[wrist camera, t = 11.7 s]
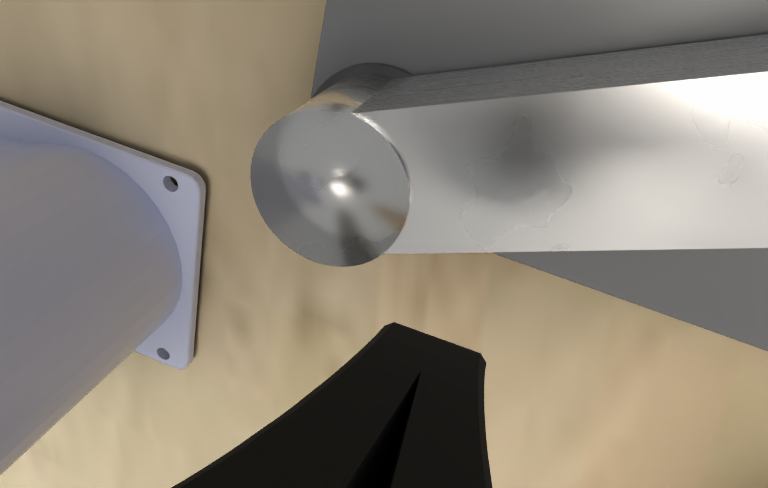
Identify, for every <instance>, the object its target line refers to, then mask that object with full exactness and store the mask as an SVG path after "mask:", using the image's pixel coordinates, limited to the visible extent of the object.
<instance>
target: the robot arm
mask: <svg viewBox="0 0 768 488" xmlns="http://www.w3.org/2000/svg"><path fill="white" fill-rule="evenodd" d="M171 176H172V177H173V178H175V180H176V181H177V183H178V187H177V186H176V185H174V184H173V182H172V181H171ZM205 196H206V186H205V183H204V181H203V179H202V177H201V176H200V175H199V174H198V173H196V172H194V171H192V170H190V169H187V168H184V167H181V166H179V165H176V164H173V163H170V162H168V161H165V160H162V159H159V158H157V157H154V156H151V155H148V154H146V153H143V152H140V151H137V150H135V149H132V148H129V147H126V146H124V145H121V144H118V143H115V142H113V141H110V140H107V139H104V138H102V137H99V136H96V135H93V134H91V133H88V132H85V131H82V130H80V129H77V128H74V127H71V126H69V125H66V124H63V123H60V122H58V121H55V120H52V119H49V118H47V117H44V116H41V115H38V114H36V113H33V112H30V111H27V110H25V109H22V108H19V107H16V106H14V105H11V104H8V103H5V102H3V101H0V475H1V474H2V473H3V472H4V471H6V470H7V469H8V468H9V467H10V466H11V465H12V464H13V463H14V462H15V461H16V460H17V459H18V458H19V457H20V456H22V455H23V454H24V453H25V452H26V451H27V450H28V449H29V448H30V447H31V446H32V445H33V444H34V443H35V442H37V441H38V440H39V439H40V438H41V437H42V436H43V435H44V434H45V433H46V432H47V431H48V430H49V429H50V428H52V427H53V426H54V425H55V424H56V423H57V422H58V421H59V420H60V419H61V418H62V417H63V416H64V415H65V414H67V413H68V412H69V411H70V410H71V409H72V408H73V407H74V406H75V405H76V404H77V403H78V402H79V401H80V400H82V399H83V398H84V397H85V396H86V395H87V394H88V393H89V392H90V391H91V390H92V389H93V388H94V387H95V386H97V385H98V384H99V383H100V382H101V381H102V380H103V379H104V378H105V377H106V376H107V375H108V374H109V373H110V372H111V371H113V370H114V369H115V368H116V367H117V366H118V365H119V364H120V363H121V362H122V361H123V360H124V359H125V358H126V357H128V356H129V355H130V354H131V353H132V352H133V351H136V352H138V353H141V354H143V355H145V356H148V357H150V358H152V359H155V360H157V361H160V362H162V363H164V364H167V365H169V366H171V367H174V368H177V369H185V368H186V367H187V366H188V365H189V364H190V363H191V362H192V360H193V353H194V340H195V327H196V314H197V301H198V288H199V275H200V261H201V248H202V235H203V222H204V209H205ZM166 350H167V351H166ZM485 367H486V362H485V360H484V358H483V357H482V355H481V353H478V352H475V351H473V350H470V349H467V348H464V347H461V346H459V345H456V344H453V343H450V342H447V341H445V340H442V339H439V338H436V337H434V336H431V335H428V334H425V333H422V332H420V331H417V330H414V329H411V328H409V327H406V326H403V325H400V324H397V323H395V322H394V323H391V324H388V325H386V326H384V327H383V328H382V329H381V330H380V331H379V333H378V334H377V335H376V336H375V337H374V338H373V339H372V340H371V341H370V342H369V343H368V344H367V345H366V346H365V347H364V348H362V349H361V350H360V351H359V352H358V353H357V354H356V355H355V356H354V357H353V358H352V359H350V360H349V361H348V362H347V363H346V364H345V365H344V366H342V367H341V368H340V369H339V370H338V371H337V372H335V373H334V374H333V375H332V376H331V377H330V378H328V379H327V380H326V381H325V382H323V383H322V384H321V385H320V386H318V387H317V388H316V389H314V390H313V391H312V392H311V393H309V394H308V395H307V396H306V397H304V398H303V399H302V400H301V401H299V402H298V403H297V404H296V405H294V406H293V407H292V408H290V409H289V410H288V411H286V412H285V413H284V414H282V415H281V416H280V417H278V418H277V419H275V420H274V421H273V422H271V423H270V424H268V425H267V426H265V427H264V428H263V429H261V430H260V431H258V432H257V433H255V434H254V435H253V436H251V437H250V438H248V439H247V440H245V441H244V442H243V443H241V444H240V445H238V446H237V447H235V448H234V449H233V450H231V451H230V452H228V453H227V454H225V455H223V456H222V457H220V458H219V459H217V460H216V461H214V462H213V463H211V464H209V465H208V466H206V467H205V468H203V469H202V470H200V471H198V472H197V473H195V474H193V475H192V476H190V477H189V478H187V479H185V480H184V481H182V482H180V483H179V484H177V485H175V486H173V487H172V488H492V482H491V475H490V468H489V460H488V452H487V442H486V430H485V414H484V377H485Z"/></svg>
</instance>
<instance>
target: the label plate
mask: <svg viewBox="0 0 768 488" xmlns="http://www.w3.org/2000/svg"><path fill="white" fill-rule="evenodd" d="M764 34H768V0H327V1H326V8H325V14H324V20H323V26H322V32H321V39H320V45H319V51H318V57H317V63H316V70H315V76H314V82H313V88H312V94H311V99H312V98H314V97H315V96H317V95H318V94H320V93H321V92H323V91H324V90H326V89H327V88H329V87H330V86H332V85H333V84H335V83H337V82H338V81H340V80H342V79H344V78H347V77H350V76H353V75H358V74H379V75H384V76H388V77H391V78H393V79H394V78H402V77H410V76H419V75H427V74H436V73H444V72H452V71H461V70H469V69H478V68H486V67H495V66H503V65H511V64H520V63H528V62H537V61H545V60H553V59H562V58H570V57H579V56H587V55H596V54H604V53H612V52H621V51H629V50H638V49H646V48H654V47H663V46H671V45H680V44H688V43H696V42H705V41H713V40H722V39H730V38H739V37H747V36H755V35H764ZM491 253H494V254H497V255H500V256H502V257H505V258H508V259H511V260H514V261H516V262H519V263H522V264H525V265H528V266H530V267H533V268H536V269H539V270H542V271H544V272H547V273H550V274H553V275H556V276H558V277H561V278H564V279H567V280H570V281H572V282H575V283H578V284H581V285H584V286H587V287H589V288H592V289H595V290H598V291H601V292H603V293H606V294H609V295H612V296H615V297H617V298H620V299H623V300H626V301H629V302H631V303H634V304H637V305H640V306H643V307H645V308H648V309H651V310H654V311H657V312H659V313H662V314H665V315H668V316H671V317H673V318H676V319H679V320H682V321H685V322H687V323H690V324H693V325H696V326H699V327H701V328H704V329H707V330H710V331H713V332H715V333H718V334H721V335H724V336H727V337H729V338H732V339H735V340H738V341H741V342H744V343H746V344H749V345H752V346H755V347H758V348H760V349H763V350H766V351H768V248H729V249H666V250H603V251H540V252H491Z"/></svg>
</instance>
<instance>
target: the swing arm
mask: <svg viewBox="0 0 768 488" xmlns="http://www.w3.org/2000/svg"><path fill="white" fill-rule="evenodd" d="M251 187H252V191H253V196H254V199H255V202H256V205H257V207H258V209H259V212H260V214H261V216H262V217H263V219H264V221H265V222H266V224H267V225H268V227H269V228H270V229H271V230H272V232H273V233H274V234H275V235H276V236H277V237H278V238H279V239H280V240H281V241H282V242H283V243H284V244H285V245H287V246H288V247H289V248H290V249H292V250H293V251H295V252H296V253H298V254H300V255H302V256H303V257H305V258H307V259H310V260H312V261H315V262H318V263H321V264H325V265H331V266H342V267H345V266H355V265H360V264H363V263H366V262H369V261H371V260H373V259H375V258H377V257H379V256H380V255H381V254H415V253H478V252H540V251H603V250H666V249H729V248H768V34H764V35H755V36H747V37H739V38H730V39H722V40H713V41H705V42H696V43H688V44H680V45H671V46H663V47H654V48H646V49H638V50H629V51H621V52H612V53H604V54H596V55H587V56H579V57H570V58H562V59H553V60H545V61H537V62H528V63H520V64H511V65H503V66H495V67H486V68H478V69H469V70H461V71H452V72H444V73H436V74H427V75H419V76H410V77H402V78H394V79H393V78H391V77H388V76H384V75H379V74H358V75H353V76H350V77H347V78H344V79H342V80H340V81H338V82H337V83H335V84H333V85H332V86H330V87H329V88H327V89H326V90H324V91H323V92H321V93H320V94H318V95H317V96H315V97H314V98H312V99H311V100H309V101H307V102H306V103H304V104H303V105H301V106H300V107H298V108H297V109H295V110H294V111H292V112H291V113H289V114H288V115H286V116H285V117H283V118H282V119H280V120H279V121H277V122H276V123H275V124H273V125H272V126H271V127H270V128H269V129H268V130H267V131H266V132H265V133H264V135H263V136H262V137H261V139H260V140H259V142H258V144H257V146H256V148H255V151H254V155H253V158H252V164H251Z"/></svg>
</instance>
